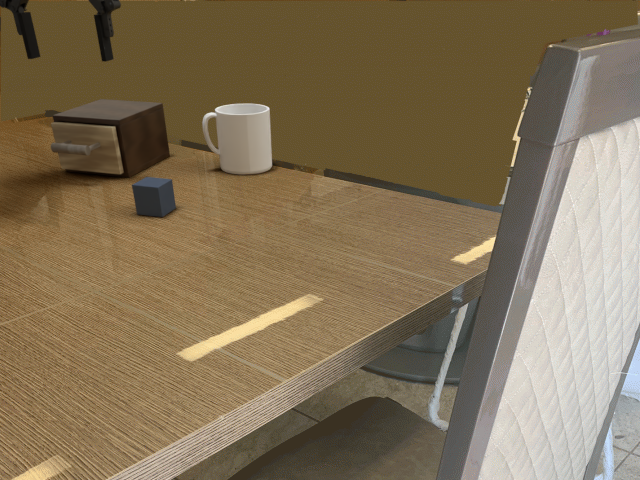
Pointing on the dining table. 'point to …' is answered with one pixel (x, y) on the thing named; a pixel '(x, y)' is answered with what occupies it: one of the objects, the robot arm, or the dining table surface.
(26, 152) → the dining table surface
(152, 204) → the block
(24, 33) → the robot arm
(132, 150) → the cabinet
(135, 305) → the dining table surface
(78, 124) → the drawer
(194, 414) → the dining table surface
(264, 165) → the mug
